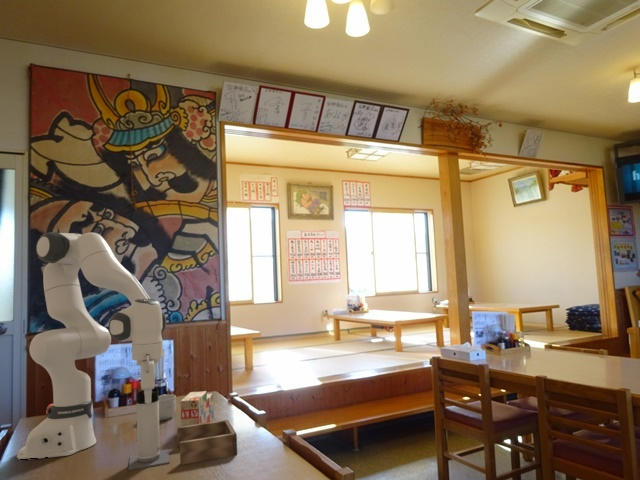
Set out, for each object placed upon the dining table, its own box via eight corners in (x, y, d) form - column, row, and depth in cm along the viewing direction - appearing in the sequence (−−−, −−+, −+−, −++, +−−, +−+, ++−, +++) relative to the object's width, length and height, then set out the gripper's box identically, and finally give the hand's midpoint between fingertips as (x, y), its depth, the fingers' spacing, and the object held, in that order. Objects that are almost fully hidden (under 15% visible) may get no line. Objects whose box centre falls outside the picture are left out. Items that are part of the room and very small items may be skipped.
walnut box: (180, 464, 131) (180, 443, 132) (177, 446, 146) (177, 427, 147) (237, 454, 137) (236, 433, 137) (228, 438, 152) (227, 419, 153)
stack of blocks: (197, 418, 177) (196, 386, 178) (213, 417, 177) (212, 385, 179) (181, 437, 156) (180, 400, 157) (199, 436, 156) (198, 399, 157)
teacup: (170, 421, 174) (170, 400, 175) (142, 423, 174) (142, 401, 175) (182, 411, 188) (181, 391, 189) (156, 412, 188) (155, 393, 189)
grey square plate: (128, 470, 129) (128, 469, 129) (130, 457, 139) (130, 456, 139) (169, 463, 133) (169, 461, 133) (168, 450, 143) (168, 449, 143)
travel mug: (164, 457, 137) (163, 388, 139) (144, 464, 131) (143, 393, 133) (153, 453, 140) (152, 386, 142) (133, 460, 135) (132, 391, 137)
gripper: (159, 356, 130) (160, 405, 129) (158, 347, 149) (158, 391, 148) (135, 358, 128) (135, 409, 127) (137, 349, 147) (137, 393, 146)
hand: (148, 399), depth 137 cm, fingers open, 8 cm apart
